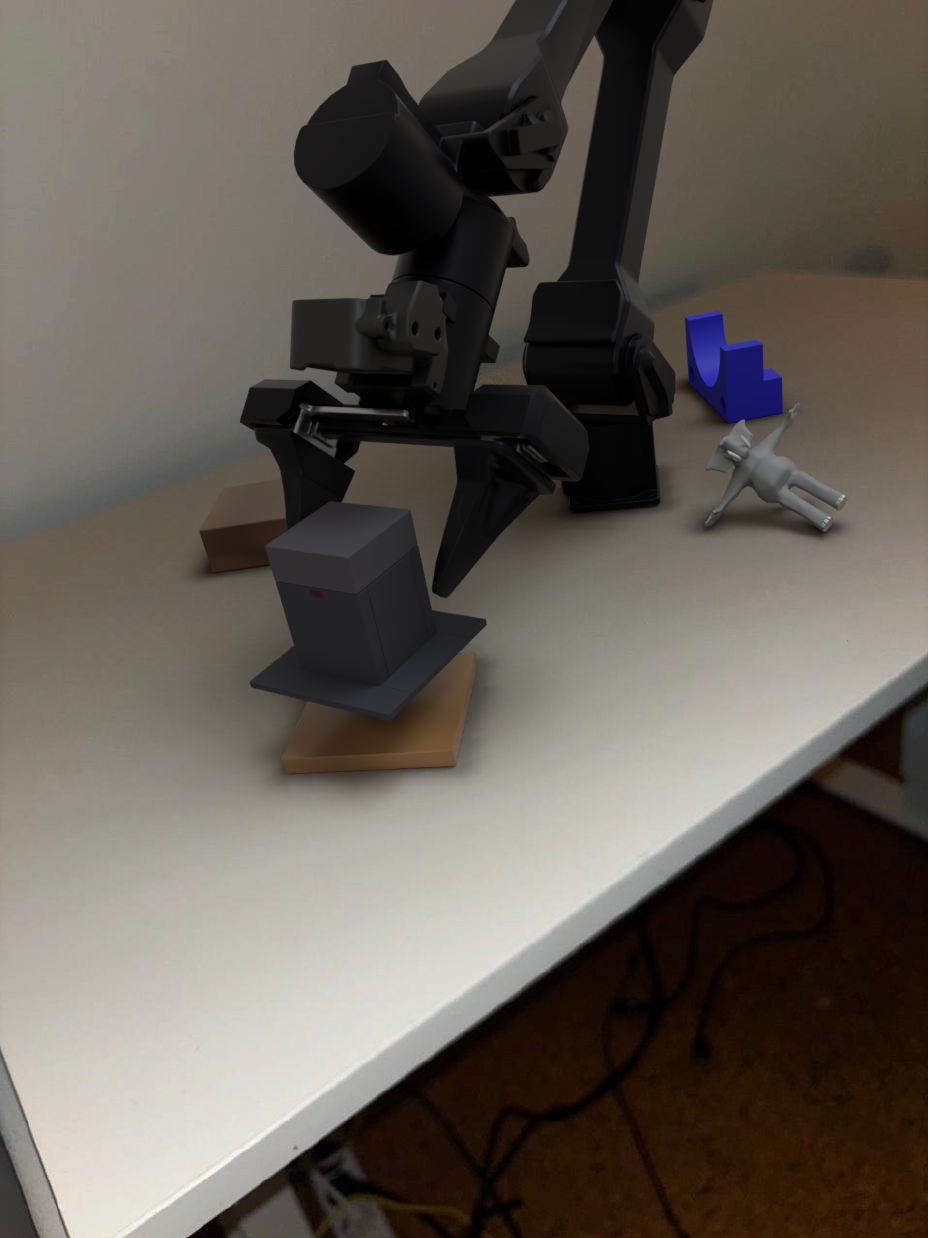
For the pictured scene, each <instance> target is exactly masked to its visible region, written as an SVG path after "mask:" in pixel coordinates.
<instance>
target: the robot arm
mask: <svg viewBox="0 0 928 1238" xmlns="http://www.w3.org/2000/svg"><path fill="white" fill-rule="evenodd" d="M713 4H714V0H514V1H513V4H512V5H511V7H510V8H509V10H508V12H507V14H506V15H505V17H504V18H503V20H502V22H501V24H500V25H499V27H498V29H497V30H496V32H495V33H494V35H493V37H492V39H491V40H490V42H488V43H487V44H486V46H485V47H483V49H482V50H481V51H478V52H477V53H475V54H473V55H472V56H470V57H469V58H467V59H465V60H464V61H463V60H462V62H459V63H458V64H456V65H455V66H453V67H451V68H450V69H449V70H447V71H446V72H445V73H444V74H443V75H442V76H441V77H440V78H439V79H438V80H437V81H436V82H435V83H434V84H433V85H432V86H431V87H430V88H429V90H427V91H426V92H425V93H424V95H423V96H422V97H421V99H420V100H419V102H417V101H416V100H415V99H414V97H413V96H412V95H411V94H410V92H409V91H408V89H407V87H406V85H405V83H404V81H403V79H402V78H401V76H400V74H399V73H398V72H397V71H396V69H395V68H394V67H393V65H391V63H390V61H388V59H381V60H377V61H370V62H366V63H360V64H355V65H352V66H351V68H350V71H349V75H348V78H347V81H346V84H345V85H343V86H341V88H339V89H337V90H336V91H335V92H333V93H331V95H329V96H328V97H327V98H325V100H324V101H323V102H322V103H320V104H319V106H318V107H317V109H316V110H315V111H314V113H313V114H312V115H311V116H310V118H309V120H308V121H307V123H306V124H304V125H303V126H301V127H300V129H299V131H298V133H297V136H296V139H295V143H294V144H295V145H294V150H293V166H294V169H295V173H296V175H297V176H298V178H299V179H300V180H301V182H302V183H303V184H304V185H305V186H306V187H307V188H308V189H309V190H310V191H311V192H312V193H313V194H314V195H315V196H317V197H318V198H319V199H320V200H321V201H322V203H323V204H324V205H325V206H327V207H328V209H330V210H331V211H332V212H333V213H334V214H335V215H336V216H337V217H338V218H339V219H340V220H341V221H342V222H343V223H344V224H345V225H346V226H347V227H348V228H349V229H351V230H352V232H353V233H354V234H356V236H358V237H359V238H360V239H361V240H362V241H363V242H364V243H365V244H366V245H367V246H368V247H369V248H370V249H371V250H373V251H375V252H376V253H377V254H381V255H385V256H391V257H392V256H398V257H397V260H396V264H395V267H394V270H393V274H392V278H391V281H390V282H389V283H388V285H387V287H386V289H385V292H384V294H382V293H380V294H370V295H369V297H368V298H359V297H340V298H339V297H338V298H337V297H335V298H334V297H333V298H310V299H309V298H308V299H293V300H292V301H291V316H290V317H291V319H290V320H291V322H290V345H289V346H290V347H289V348H290V349H289V369H291V370H295V371H300V372H301V371H303V372H304V371H305V370H306V369H307V368H308V369H314V370H321V371H326V372H333V373H336V374H335V379H334V382H333V383H334V384H335V386H337V387H339V388H340V389H341V390H343V391H344V392H346V393H348V394H355V395H356V396H358V401H357V404H351V403H350V404H348V403H347V404H346V403H343V402H342V401H341V400H339V399H337V398H336V397H335V396H333V395H332V394H331V393H329V392H328V391H327V390H325V389H324V388H322V387H321V386H320V385H318V384H317V383H315V382H314V381H313V380H309V379H273V378H271V379H269V378H265V379H263V380H261V381H259V382H257V383H255V384H253V385H251V386H250V387H249V388H248V392H247V395H246V399H245V402H244V406H243V409H242V411H241V414H240V417H239V418H240V420H239V423H240V424H241V425H243V426H245V427H246V428H248V429H250V430H252V431H253V432H254V433H253V434H254V437H255V440H256V441H257V442H258V443H259V444H261V445H263V446H264V447H266V448H267V449H269V450H270V452H271V454H272V456H273V458H274V460H275V462H276V464H277V466H278V468H279V472H280V477H281V478H280V479H282V484H283V491H284V500H285V514H286V529H287V530H289V529H290V528H292V527H293V526H295V525H296V524H298V523H299V522H300V521H302V520H303V519H305V518H306V517H308V516H309V515H311V514H312V513H314V512H315V511H317V510H318V509H319V508H321V507H322V506H324V505H325V504H327V503H328V502H330V501H332V502H342V503H343V500H344V499H345V497H346V494H347V492H348V490H349V488H350V485H351V483H352V481H353V478H354V477H355V474H356V470H355V469H353V468H352V467H350V466H349V465H347V464H346V463H347V462H348V461H349V460H350V459H351V458H353V457H354V456H355V455H356V454H357V453H359V449H360V445H361V442H363V443H380V444H395V445H396V444H398V445H411V446H413V445H414V446H427V447H428V446H430V447H444V448H453V453H454V463H455V473H456V485H455V489H454V493H453V496H452V500H451V504H450V508H449V511H448V515H447V518H446V523H445V526H444V530H443V534H442V538H441V541H440V544H439V548H438V552H437V556H436V559H435V564H434V569H433V570H434V571H433V576H432V577H433V578H432V584H431V592H432V594H434V595H436V596H437V597H439V598H444V599H447V598H449V597H451V595H452V594H453V592H454V591H455V590H456V589H457V588H458V586H459V585H460V584H461V583H462V581H463V580H464V579H465V578H466V577H467V576H468V575H469V573H470V572H471V570H472V569H473V568H474V567H475V566H476V564H477V563H478V562H479V561H480V559H481V558H482V557H483V556H484V555H485V553H486V552H488V550H489V549H490V547H491V546H492V545H493V544H494V543H495V541H496V540H497V539H498V538H500V536H501V535H502V533H504V532H505V530H506V529H508V527H509V526H510V525H512V524H513V522H515V520H517V518H518V517H519V516H520V515H521V514H522V513H523V512H524V511H526V509H527V508H528V507H530V505H531V504H532V503H534V501H535V500H536V499H537V498H538V497H540V496H552V495H554V493H555V492H556V489H557V484H556V482H554V481H559V482H560V481H561V482H560V483H561V489H562V494H563V495H564V496H565V497H569V498H568V509H569V512H570V513H579V512H580V513H581V512H591V511H601V510H602V511H603V510H611V509H622V508H632V507H641V506H653V505H657V504H660V503H661V488H660V473H659V470H660V469H659V465H658V464H657V458H656V456H657V455H656V445H655V444H656V443H655V433H654V432H655V431H654V422H655V421H656V420H661V419H663V418H667V417H670V416H671V415H672V414H673V404H674V402H675V395H676V393H677V392H676V391H677V388H676V371H675V369H674V368H673V367H672V365H671V364H670V362H668V360H667V359H666V357H665V356H664V354H663V353H662V351H661V350H660V348H659V347H658V346H657V344H656V343H655V341H654V338H655V328H656V327H655V321H654V318H653V316H652V313H651V311H650V309H649V307H648V304H647V302H646V299H645V297H644V295H643V293H642V290H641V288H640V285H639V281H640V273H641V267H642V262H643V255H644V250H645V245H646V238H647V233H648V227H649V221H650V215H651V209H652V203H653V198H654V192H655V186H656V180H657V174H658V170H659V169H658V168H659V162H660V156H661V151H662V145H663V140H664V133H665V128H666V122H667V115H668V111H669V106H670V105H669V104H670V99H671V93H672V87H673V82H674V78H675V76H676V74H677V73H678V72H679V70H680V69H681V68H682V66H683V65H684V64H685V63H686V62H687V61H688V59H689V58H690V57H691V55H692V54H693V53H694V51H695V50H696V49H697V48H698V47H699V46H700V44H701V43H702V42H703V40H704V38H705V35H706V32H707V29H708V25H709V20H710V16H711V12H712V8H713ZM594 38H595V40H596V43H597V45H598V48H599V49H600V53H601V54H602V65H601V71H600V78H599V83H598V89H597V94H596V95H597V96H596V102H595V107H594V112H593V118H592V123H591V131H590V136H589V141H588V148H587V153H586V159H585V165H584V171H583V177H582V181H581V182H582V183H581V189H580V193H579V194H580V195H579V201H578V206H577V211H576V218H575V223H574V228H573V235H572V241H571V246H570V252H569V259H568V262H567V266H566V269H565V270H564V271H563V272H562V273H561V274H560V276H559V277H558V278H557V280H556V281H540V282H538V284H537V286H536V288H535V290H534V291H533V293H532V296H531V297H532V298H531V309H530V310H531V311H530V318H529V323H528V326H527V330H526V332H525V335H524V337H523V343H524V344H525V345H524V348H523V352H522V362H521V363H522V373H523V376H524V380H525V382H526V384H498V383H497V384H496V383H495V384H491V383H489V384H488V383H483V384H482V385H479V387H477V388H476V384H477V381H478V376H479V373H480V369H481V365H482V364H496V363H497V359H498V355H499V351H500V348H501V345H500V344H499V343H498V342H497V341H496V340H495V339H494V338H493V337H492V336H491V335H490V332H491V328H492V324H493V321H494V316H495V312H496V308H497V305H498V302H499V297H500V293H501V290H502V287H503V283H504V278H505V274H506V270H507V269H515V268H526V267H528V266H529V265H530V261H531V259H530V255H529V249H528V245H527V243H526V242H525V240H524V239H523V238H522V237H521V234H520V232H519V229H518V226H517V220H516V218H515V217H514V216H507V214H506V213H505V212H504V211H503V210H502V208H501V207H500V206H499V205H498V204H497V202H495V200H493V199H492V198H494V197H495V198H496V197H505V196H515V195H526V194H527V195H528V194H535V193H539V192H541V191H542V190H544V188H546V185H547V184H548V183H549V181H550V180H551V179H552V177H553V174H554V172H555V169H556V167H557V164H558V161H559V158H560V156H561V152H562V149H563V147H564V144H565V141H566V138H567V136H568V133H569V123H568V122H567V121H568V120H567V117H566V114H565V111H564V108H563V104H562V102H563V98H564V96H565V93H566V90H567V88H568V85H569V83H570V82H571V80H572V78H573V76H574V74H575V73H576V71H577V69H578V67H579V65H580V63H581V62H582V59H583V57H584V56H585V54H586V52H587V50H588V48H589V46H590V45H591V43H592V41H593V39H594ZM475 388H476V389H475Z"/></svg>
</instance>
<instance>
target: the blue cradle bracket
mask: <svg viewBox="0 0 928 1238" xmlns="http://www.w3.org/2000/svg"><path fill="white" fill-rule="evenodd" d="M684 329H685V345H686V360H687V361H686V362H687V363H686V364H687V378H688V383H689V384H690V385H691V386H692V387H693V388H694V390H696V391H697V393H699V394H700V395H701V396H702V397H703V398H704V399H705V400H706V401H707V403H709V404H710V406H711V407H712V408H713V409H714V410H715V411H716V412H717V413H718V414H719V415H720V416H721V417H722V418H723V419H724V420H725V421H726V422H727V423H728V424H731V423H735V422H736V423H738V422H739V421H741V420H745V421H747V420H752V419H758V418H763V417H767V416H773V415H778V414H783V412H784V410H783V409H784V407H783V403H784V402H783V376H781V375H780V374H779V373H778V372H776V371H775V370H774V369H772V368H771V367H770V368H764V343H762V342H761V341H760V340H758V338H756V339H751V340H745V341H740V342H735V343H729V344H727V339H726V333H725V325H724V314H723V312H721V311H720V310H713V311H706V312H702V313H701V312H700V313H697V314H692V315H687V316H684Z"/></svg>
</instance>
